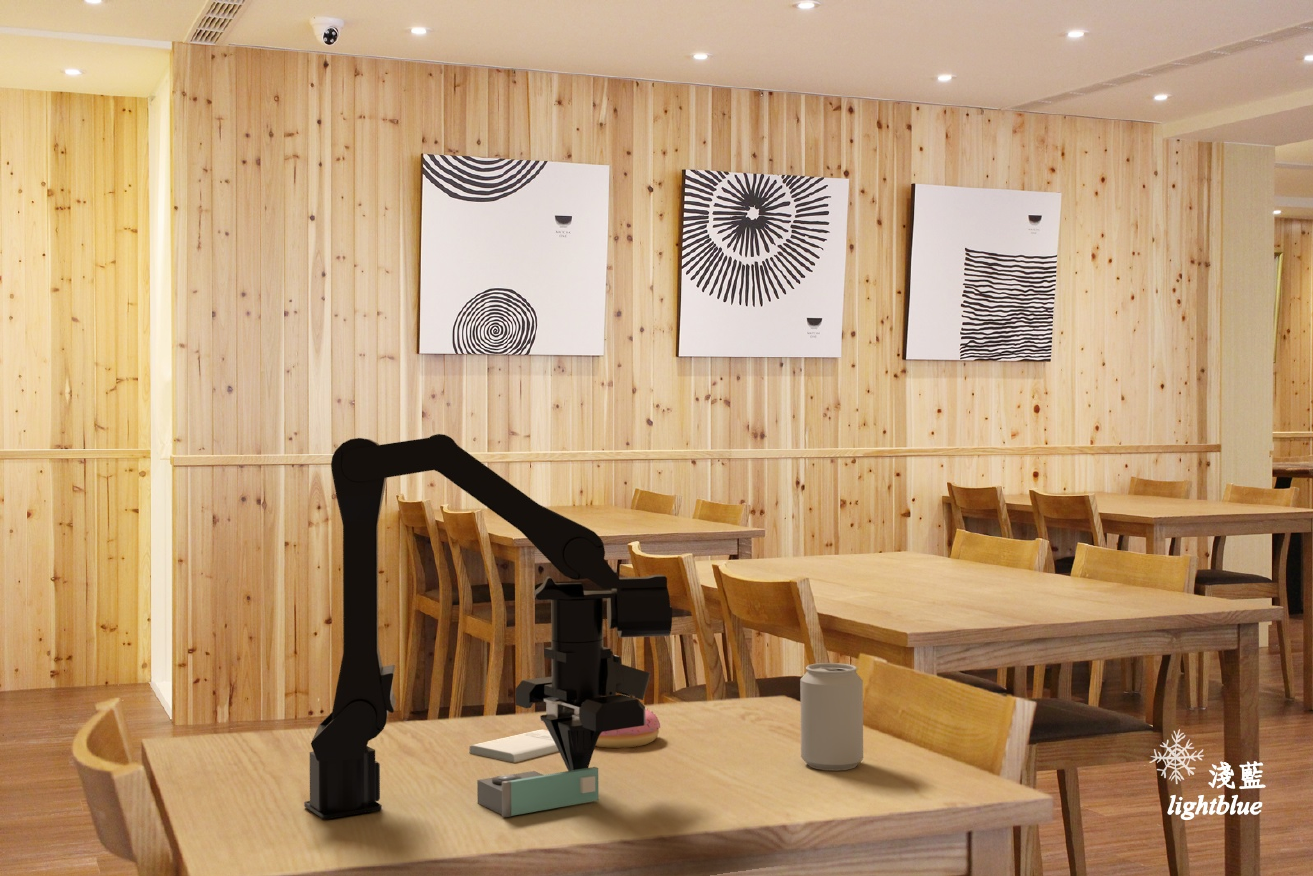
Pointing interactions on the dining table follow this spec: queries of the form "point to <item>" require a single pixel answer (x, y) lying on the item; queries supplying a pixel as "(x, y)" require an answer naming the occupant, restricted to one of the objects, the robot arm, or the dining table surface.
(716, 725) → the dining table surface
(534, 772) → the camera body
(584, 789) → the side door
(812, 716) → the can
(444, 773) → the dining table surface
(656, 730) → the doughnut
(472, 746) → the external hard drive
